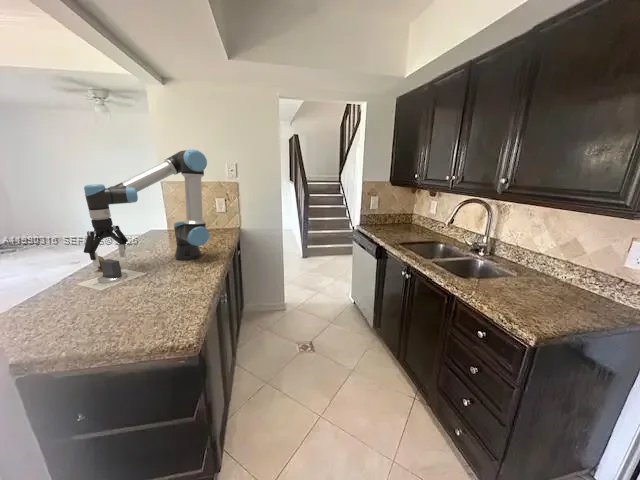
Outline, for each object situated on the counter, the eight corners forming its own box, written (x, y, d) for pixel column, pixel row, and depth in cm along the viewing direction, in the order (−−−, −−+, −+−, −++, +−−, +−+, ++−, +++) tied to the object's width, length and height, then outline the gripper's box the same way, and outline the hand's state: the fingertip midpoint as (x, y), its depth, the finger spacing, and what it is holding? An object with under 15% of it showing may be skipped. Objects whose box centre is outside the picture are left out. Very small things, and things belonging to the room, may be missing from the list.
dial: (91, 281, 130) (87, 263, 128) (117, 272, 141) (114, 256, 139) (108, 284, 126) (104, 266, 124) (133, 275, 137) (130, 258, 134)
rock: (95, 265, 149) (84, 269, 140) (105, 252, 150) (94, 255, 140) (114, 275, 152) (105, 280, 142) (124, 263, 152) (115, 266, 143)
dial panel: (124, 271, 147) (123, 268, 146) (147, 276, 140) (146, 273, 140) (76, 287, 127) (75, 283, 127) (100, 293, 121) (100, 290, 120)
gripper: (79, 223, 113) (91, 271, 119) (131, 214, 137) (138, 253, 142) (65, 223, 115) (77, 269, 120) (118, 213, 138) (126, 253, 144)
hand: (110, 261), depth 131 cm, fingers open, 13 cm apart
